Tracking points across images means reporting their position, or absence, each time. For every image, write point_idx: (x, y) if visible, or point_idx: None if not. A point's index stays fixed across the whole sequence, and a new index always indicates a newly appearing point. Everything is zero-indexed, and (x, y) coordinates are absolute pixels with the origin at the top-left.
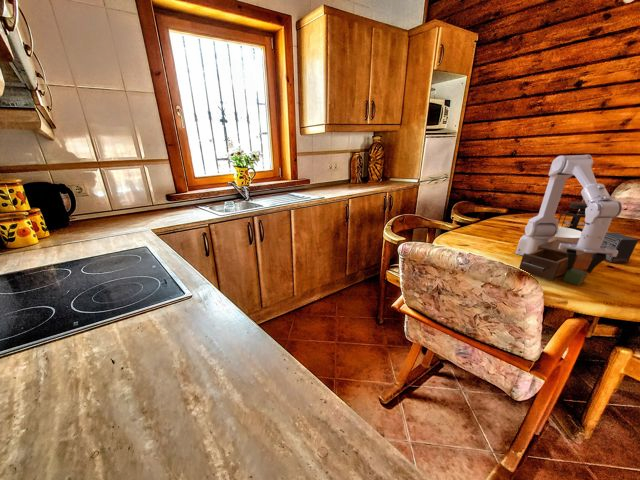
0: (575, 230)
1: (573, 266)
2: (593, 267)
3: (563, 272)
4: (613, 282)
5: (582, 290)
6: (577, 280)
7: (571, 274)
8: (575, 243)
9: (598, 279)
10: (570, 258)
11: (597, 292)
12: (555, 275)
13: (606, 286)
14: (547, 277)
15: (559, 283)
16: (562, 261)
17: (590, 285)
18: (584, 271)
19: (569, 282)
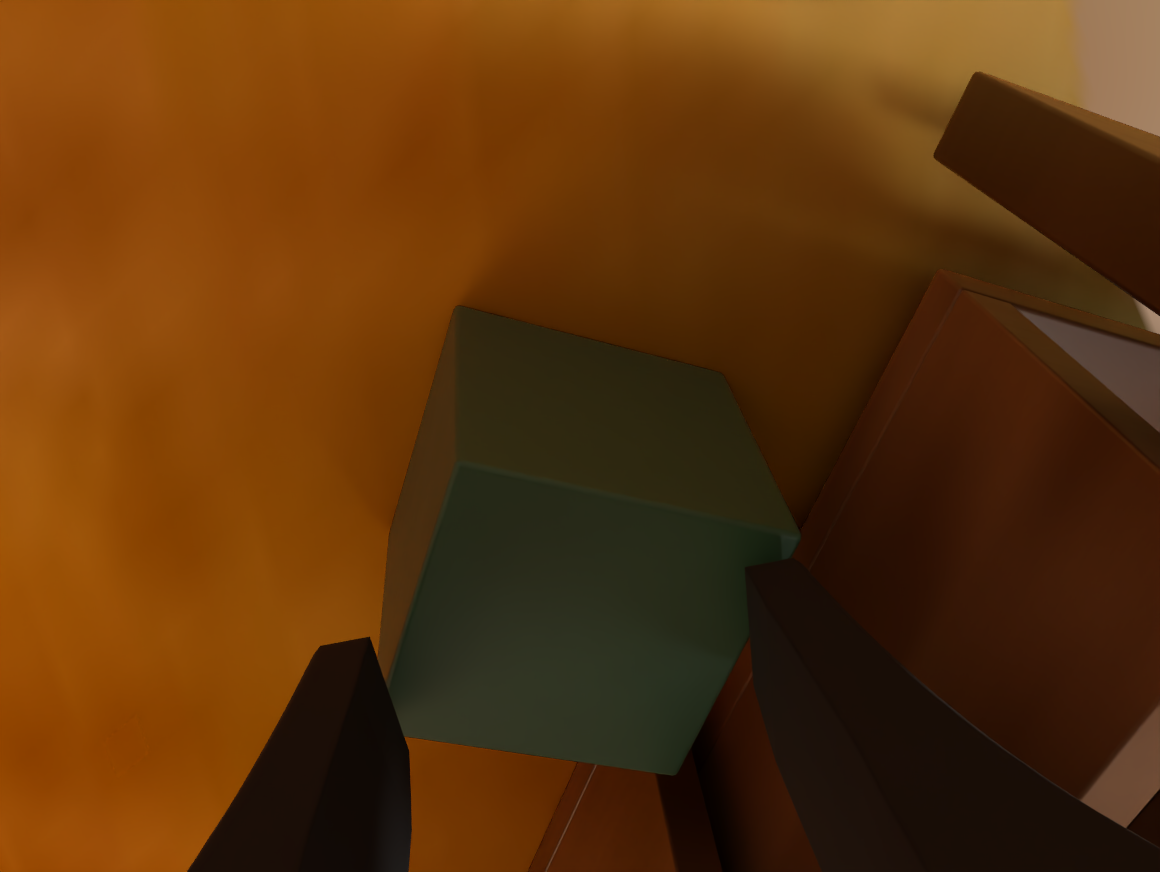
0: None
1: (668, 860)
2: (256, 797)
3: None
4: (37, 841)
5: (331, 66)
6: (500, 371)
7: (668, 470)
8: None
9: None
10: (1068, 843)
11: (63, 174)
12: (1018, 178)
13: (52, 619)
14: (1113, 124)
15: (782, 178)
16: (1116, 705)
17: (269, 487)
18: (445, 730)
19: (611, 349)
